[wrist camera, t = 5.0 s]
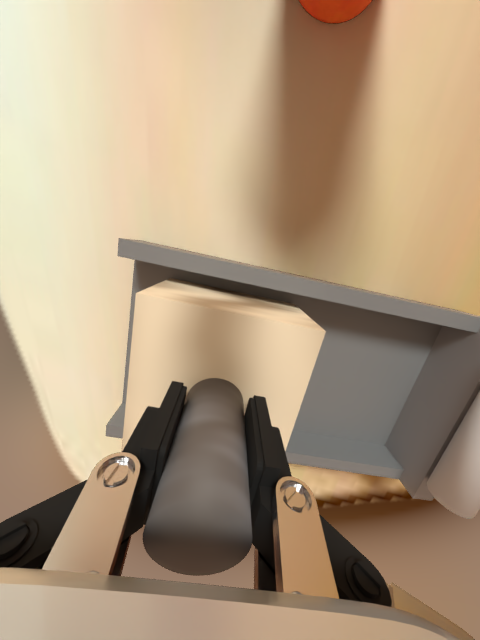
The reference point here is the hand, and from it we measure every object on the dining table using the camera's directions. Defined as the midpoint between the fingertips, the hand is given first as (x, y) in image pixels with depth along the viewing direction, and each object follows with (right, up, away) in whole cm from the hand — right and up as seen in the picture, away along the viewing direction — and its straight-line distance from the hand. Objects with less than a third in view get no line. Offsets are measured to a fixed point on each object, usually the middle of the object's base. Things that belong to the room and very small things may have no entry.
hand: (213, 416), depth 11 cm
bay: (+5, +1, +8) cm, 10 cm away
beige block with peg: (0, +2, +7) cm, 7 cm away
